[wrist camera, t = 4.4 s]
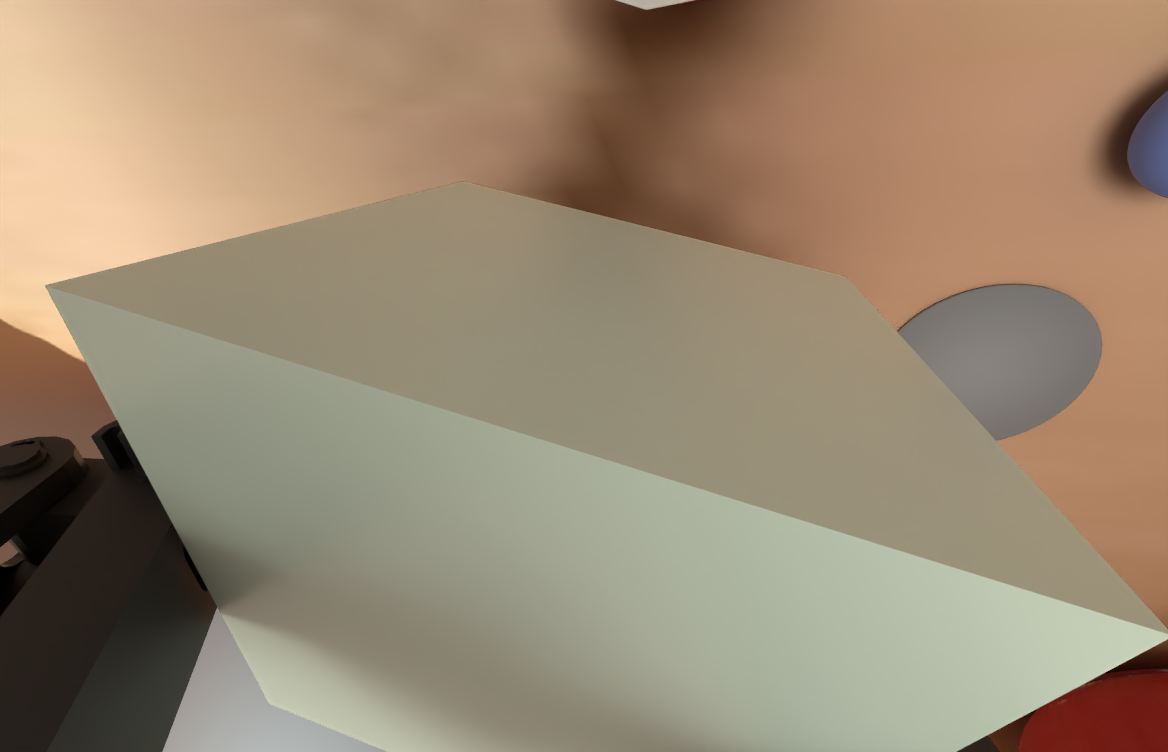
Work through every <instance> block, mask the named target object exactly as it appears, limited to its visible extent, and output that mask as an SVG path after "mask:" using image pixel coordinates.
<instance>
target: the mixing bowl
mask: <svg viewBox="0 0 1168 752" xmlns="http://www.w3.org/2000/svg"><path fill="white" fill-rule="evenodd" d="M1018 752H1168V669H1136V670H1127V671H1119V672H1112V673H1107V674H1102V675H1100V676H1098V677H1096V678H1094V679H1092V680H1090V681H1088V682H1086V683H1085V684H1083V685H1081V686H1079V687H1077V688H1075V689H1073V690H1071V691H1070V692H1068V693H1066V694H1064V695H1062V696H1060V697H1058V698H1056V699H1055V700H1053V701H1051V702H1049V703H1047V704H1045V705H1043V706H1041V707H1039V709H1038V710H1037V711H1036V712H1035V713H1034V714H1033V715H1032V716H1031V718H1030V719H1029V720H1028V722H1027V724H1026V725H1025V727H1024V730H1023V733H1022V736H1021V739H1020V742H1019V745H1018Z"/></svg>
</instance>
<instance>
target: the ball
mask: <svg viewBox="0 0 1168 752" xmlns="http://www.w3.org/2000/svg"><path fill="white" fill-rule="evenodd" d="M1127 160H1128V165H1129V168H1130V171H1131V173H1132V174H1133V176H1134V178H1135V179H1136V180H1137V181H1138V182H1139V183H1140V184H1141V185H1142V186H1143V187H1145V188H1146V189H1148V190H1150V191H1152V192H1154V193H1156V194H1158V195H1160V196H1163V197H1167V198H1168V91H1166V92H1165V93H1164V94H1163V95H1162V96H1161V97H1160V98H1158V99H1157V100H1156V101H1155V102H1154V103H1153V105H1152V106H1151V107H1150V108H1149V109H1148V110H1147V111H1146V113H1145V114H1144V115H1143V116H1142V118H1141V119H1140V121H1139V122H1138V124H1137V125H1136V127H1135V129H1134V131H1133V133H1132V136H1131V138H1130V141H1129V145H1128V151H1127Z"/></svg>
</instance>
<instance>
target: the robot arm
mask: <svg viewBox="0 0 1168 752" xmlns="http://www.w3.org/2000/svg"><path fill="white" fill-rule="evenodd" d="M92 439H93V440H94V442H95V443H96V445H97V447H98V449H99V450H100V452H101V454H102V455H103V457H104V459H89V458H82V456H81V455H80V453H79V451H78V450H77V448H76V447H75V446H74V444H73V443H72V442H71V441H70V440H68V439H64V438H60V437H35V438H30V439H25V440H19V441H15V442H12V443H9V444H6V445H3V446H0V547H1V546H2V545H4V544H5V543H6V542H7V541H9V542H10V543H11V544H12V545H13V546H14V548H15V549H16V550H17V551H18V554H16V555H15V556H14V557H13V558H11V559H9V560H8V561H6V562H5V563H3V564H1V565H0V752H162V751H163V748H164V746H165V743H166V740H167V738H168V735H169V732H170V730H171V727H172V725H173V722H174V719H175V717H176V714H177V711H178V709H179V706H180V704H181V701H182V698H183V696H184V693H185V690H186V687H187V685H188V682H189V680H190V677H191V674H192V672H193V669H194V667H195V664H196V661H197V659H198V656H199V653H200V651H201V648H202V646H203V643H204V640H205V637H206V635H207V632H208V630H209V627H210V624H211V622H212V619H213V616H214V614H215V611H216V609H217V606H216V604H215V602H214V600H213V598H212V596H211V594H210V592H209V591H208V589H207V587H206V585H205V583H204V581H203V579H202V578H201V576H200V574H199V572H198V570H197V568H196V566H195V564H194V563H193V561H192V559H191V557H190V555H189V553H188V551H187V550H186V548H185V546H184V544H183V542H182V540H181V538H180V537H179V535H178V533H177V531H176V529H175V527H174V525H173V523H172V522H171V520H170V518H169V516H168V514H167V512H166V510H165V509H164V507H163V505H162V503H161V501H160V499H159V497H158V495H157V494H156V492H155V490H154V488H153V486H152V484H151V482H150V481H149V479H148V477H147V475H146V473H145V471H144V469H143V468H142V466H141V464H140V462H139V460H138V458H137V456H136V454H135V453H134V451H133V449H132V447H131V445H130V443H129V441H128V440H127V438H126V436H125V434H124V432H123V430H122V428H121V426H120V425H119V423H118V421H117V420H116V421H114V422H112V423H109V424H107V425H105V426H103V427H102V428H101V429H100V430H98V431H97V432H96V433H95V434H93V435H92ZM957 752H1000V751H999V750H998V749H997V748H996V746H995V745H994V744H993V742H992V741H991V740H990V738H989V737H988V736H985V737H983V738H981V739H979V740H977V741H976V742H974V743H972V744H970V745H968V746H966V747H964V748H962V749H960V750H959V751H957Z"/></svg>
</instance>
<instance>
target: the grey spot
mask: <svg viewBox="0 0 1168 752" xmlns="http://www.w3.org/2000/svg"><path fill="white" fill-rule="evenodd" d="M897 332H898V333H899V334H900V336H901V337H902V338H903V339H904V340H905V341H906V342H907V343H908V344H909V345H910V347H911V348H912V349H913V350H914V351H915V352H916V353H917V354H918V355H919V356H920V358H921V359H922V360H923V361H924V362H925V363H926V364H927V365H928V366H929V367H930V369H931V370H932V371H933V372H934V373H935V374H936V375H937V376H938V377H939V378H940V380H941V381H942V382H943V383H944V384H945V385H946V386H947V387H948V388H949V389H950V390H951V392H952V393H953V394H954V395H955V396H956V397H957V398H958V399H959V400H960V401H961V403H962V404H963V405H964V406H965V407H966V408H967V409H968V410H969V411H970V412H971V414H972V415H973V416H974V417H975V418H976V419H977V420H978V421H979V422H980V423H981V425H982V426H983V427H984V428H985V429H986V430H987V431H988V432H989V433H990V434H991V436H992V437H993V438H994V439H995V440H1001V439H1005V438H1008V437H1011V436H1015V435H1017V434H1020V433H1023V432H1025V431H1028V430H1030V429H1032V428H1034V427H1036V426H1038V425H1040V424H1042V423H1044V422H1046V421H1047V420H1049V419H1051V418H1052V417H1054V416H1055V415H1057V414H1058V413H1060V412H1061V411H1062V410H1064V409H1065V408H1066V407H1067V406H1069V405H1070V404H1071V403H1072V402H1073V401H1074V400H1075V399H1076V398H1077V397H1078V396H1079V395H1080V394H1081V393H1082V392H1083V390H1084V389H1085V388H1086V387H1087V385H1088V384H1089V382H1090V381H1091V379H1092V378H1093V376H1094V374H1095V372H1096V370H1097V368H1098V365H1099V361H1100V358H1101V352H1102V339H1101V333H1100V330H1099V327H1098V324H1097V322H1096V321H1095V319H1094V317H1093V316H1092V314H1091V313H1090V312H1089V311H1088V310H1087V309H1086V308H1085V307H1084V306H1083V305H1081V304H1080V303H1079V302H1077V301H1076V300H1074V299H1073V298H1071V297H1069V296H1067V295H1065V294H1062V293H1060V292H1058V291H1055V290H1052V289H1049V288H1045V287H1040V286H1034V285H1024V284H1003V285H993V286H987V287H981V288H977V289H973V290H969V291H965V292H962V293H959V294H956V295H954V296H951V297H949V298H946V299H944V300H942V301H940V302H937V303H935V304H934V305H932V306H930V307H928V308H927V309H925V310H923V311H922V312H920V313H919V314H917V315H916V316H914V317H913V318H912V319H910V320H909V321H908V322H907V323H906V324H904V325H903V326H902V327H901V328H900V329H899V330H898V331H897Z"/></svg>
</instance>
